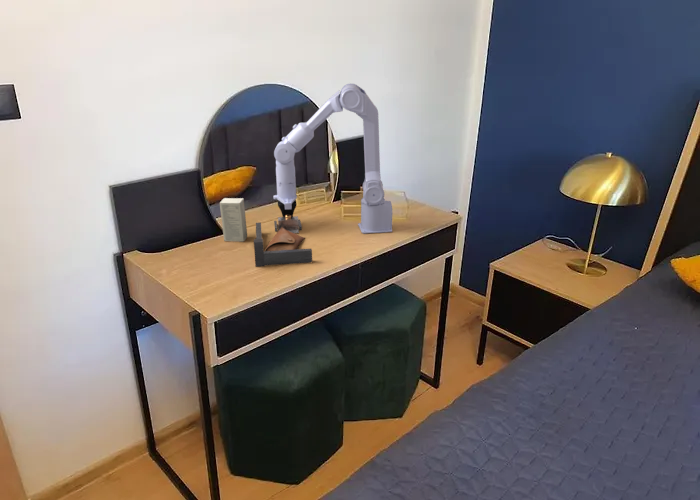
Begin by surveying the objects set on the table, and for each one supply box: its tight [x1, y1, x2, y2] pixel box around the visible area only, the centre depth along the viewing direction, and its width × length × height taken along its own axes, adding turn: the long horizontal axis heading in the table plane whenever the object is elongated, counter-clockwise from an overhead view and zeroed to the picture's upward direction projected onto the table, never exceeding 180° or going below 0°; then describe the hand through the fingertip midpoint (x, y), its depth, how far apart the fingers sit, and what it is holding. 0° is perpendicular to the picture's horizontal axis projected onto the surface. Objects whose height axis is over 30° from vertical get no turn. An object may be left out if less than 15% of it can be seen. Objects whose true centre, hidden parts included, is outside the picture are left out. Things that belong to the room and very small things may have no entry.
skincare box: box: [219, 197, 248, 242], centre depth 167 cm, size 6×4×12 cm
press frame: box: [253, 219, 313, 268], centre depth 165 cm, size 15×31×7 cm, turn 9°
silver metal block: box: [277, 214, 300, 234], centre depth 173 cm, size 6×3×5 cm, turn 99°
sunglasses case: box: [264, 227, 306, 251], centre depth 162 cm, size 18×7×7 cm
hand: (287, 223), depth 176 cm, fingers closed
